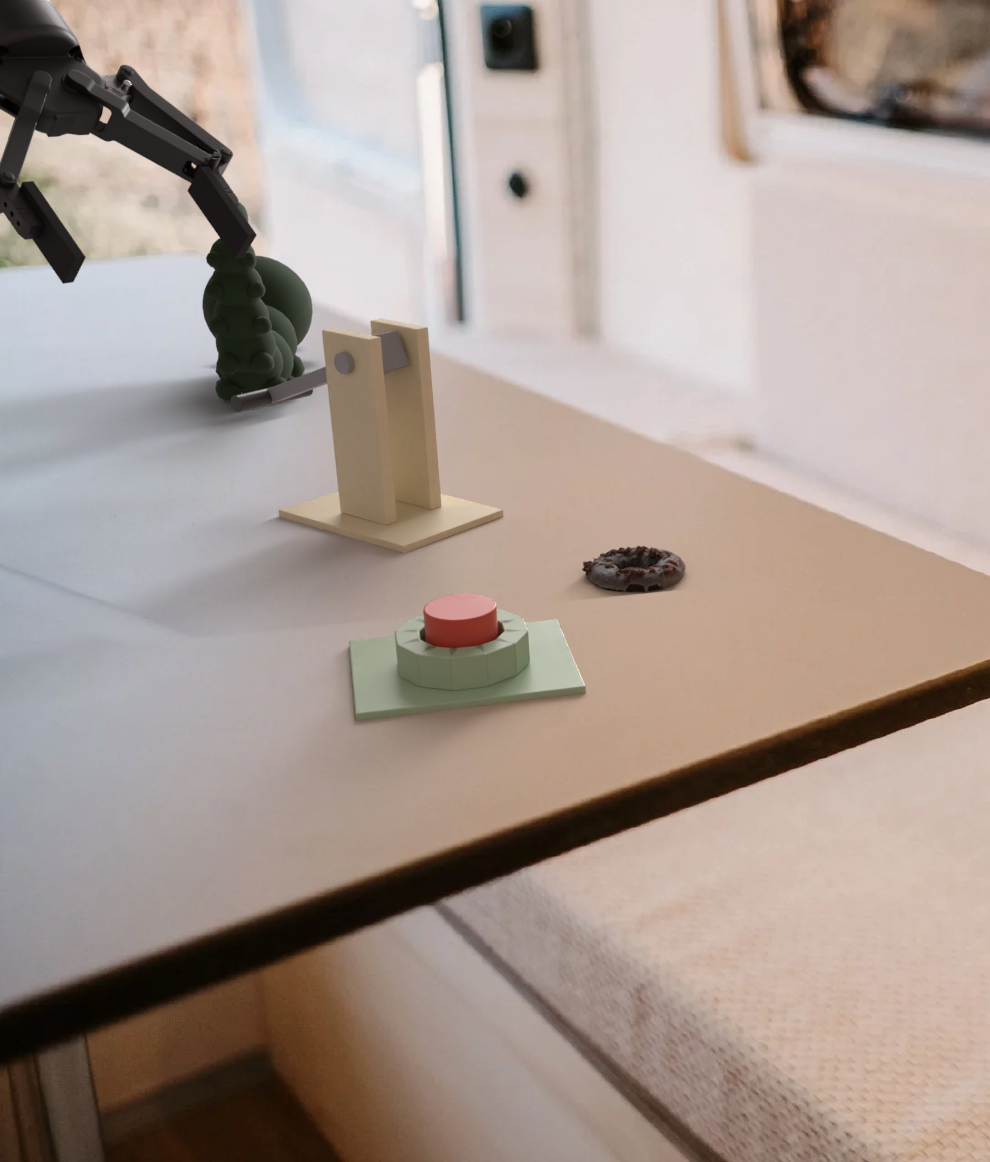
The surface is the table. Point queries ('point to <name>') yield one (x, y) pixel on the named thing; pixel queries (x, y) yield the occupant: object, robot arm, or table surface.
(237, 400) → the lever
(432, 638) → the button
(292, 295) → the toy figurine
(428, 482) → the bracket
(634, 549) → the donut
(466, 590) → the table surface
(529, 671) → the button block
